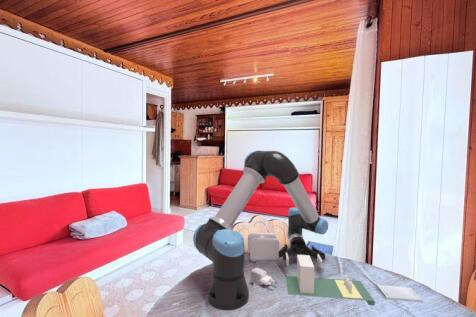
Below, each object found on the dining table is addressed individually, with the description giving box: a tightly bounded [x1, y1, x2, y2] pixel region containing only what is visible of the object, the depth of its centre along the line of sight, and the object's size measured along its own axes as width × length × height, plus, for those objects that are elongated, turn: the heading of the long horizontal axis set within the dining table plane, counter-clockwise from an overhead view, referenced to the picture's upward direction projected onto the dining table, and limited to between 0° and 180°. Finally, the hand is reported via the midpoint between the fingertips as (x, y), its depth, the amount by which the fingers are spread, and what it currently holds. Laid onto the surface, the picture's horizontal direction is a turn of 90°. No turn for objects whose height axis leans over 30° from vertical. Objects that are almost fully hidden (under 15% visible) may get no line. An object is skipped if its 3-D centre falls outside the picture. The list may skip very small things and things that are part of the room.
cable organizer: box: [247, 232, 280, 263], centre depth 120 cm, size 15×11×12 cm
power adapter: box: [250, 267, 279, 287], centre depth 94 cm, size 11×5×6 cm, turn 46°
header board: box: [285, 274, 376, 306], centre depth 91 cm, size 30×13×6 cm, turn 83°
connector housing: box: [296, 254, 315, 294], centre depth 92 cm, size 5×10×10 cm, turn 173°
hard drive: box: [375, 284, 424, 303], centre depth 90 cm, size 2×8×12 cm
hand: (304, 263), depth 97 cm, fingers open, 13 cm apart
